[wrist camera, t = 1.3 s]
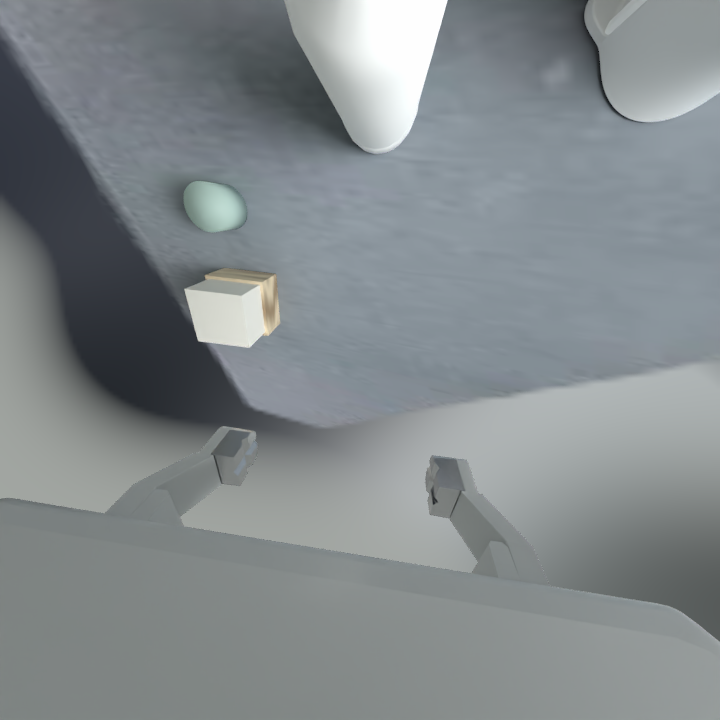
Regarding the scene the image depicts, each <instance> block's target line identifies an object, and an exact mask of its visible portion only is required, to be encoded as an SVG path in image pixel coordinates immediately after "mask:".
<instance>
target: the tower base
mask: <svg viewBox="0 0 720 720" xmlns="http://www.w3.org/2000/svg"><path fill="white" fill-rule="evenodd" d="M205 279H206V280H208V279H215V280H224V281H232V282H241V283H249V284H257V285H260V291H261V300H262V309H263V317H264V326H265V333H264V334H263V335H265V336H269V335H270V333H271V332H272V331H273V330H274V329H275V328H276V327H277V326H278V325H279V324H280V317H279V304H278V291H277V279H276V274H272V273H264V272H255V271H247V270H238V269H230V268H222V269H220V270H217V271H214V272H212V273H209V274H206V275H205Z"/></svg>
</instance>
